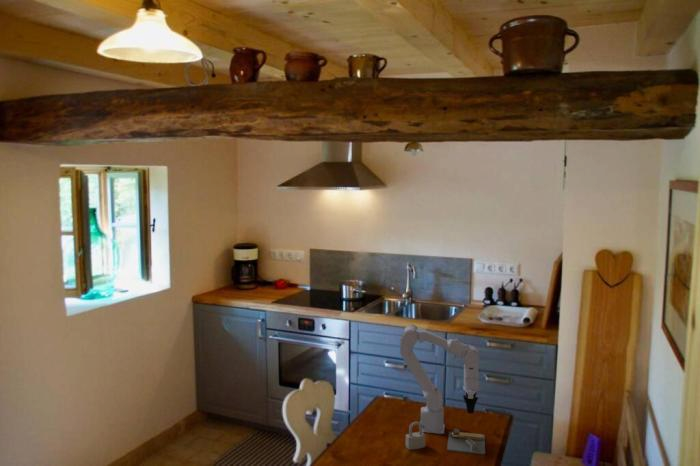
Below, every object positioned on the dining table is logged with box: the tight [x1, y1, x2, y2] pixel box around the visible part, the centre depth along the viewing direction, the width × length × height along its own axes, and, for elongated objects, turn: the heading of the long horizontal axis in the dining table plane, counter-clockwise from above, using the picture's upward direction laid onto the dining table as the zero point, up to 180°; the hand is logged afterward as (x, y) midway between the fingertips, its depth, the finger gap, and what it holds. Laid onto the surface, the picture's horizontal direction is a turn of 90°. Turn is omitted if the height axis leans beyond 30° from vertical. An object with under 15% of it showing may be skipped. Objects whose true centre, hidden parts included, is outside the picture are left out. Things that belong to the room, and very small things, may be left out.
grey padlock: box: [405, 421, 426, 451], centre depth 218 cm, size 7×4×10 cm, turn 109°
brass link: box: [451, 431, 483, 440], centre depth 225 cm, size 12×4×1 cm, turn 77°
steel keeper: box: [466, 439, 476, 450], centre depth 216 cm, size 4×2×2 cm, turn 22°
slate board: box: [446, 431, 486, 455], centre depth 221 cm, size 14×16×1 cm
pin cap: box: [453, 428, 460, 434], centre depth 225 cm, size 2×2×1 cm
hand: (470, 409), depth 230 cm, fingers open, 7 cm apart
